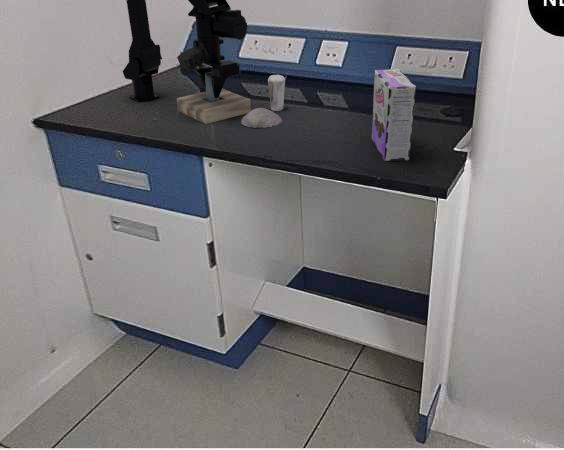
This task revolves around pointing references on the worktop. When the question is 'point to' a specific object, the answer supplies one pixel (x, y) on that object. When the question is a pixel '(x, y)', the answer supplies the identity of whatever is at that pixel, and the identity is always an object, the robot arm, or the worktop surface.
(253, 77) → the worktop surface
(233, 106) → the socket block
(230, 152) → the worktop surface
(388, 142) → the candy box
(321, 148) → the worktop surface
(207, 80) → the dowel
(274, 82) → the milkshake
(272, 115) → the seashell
